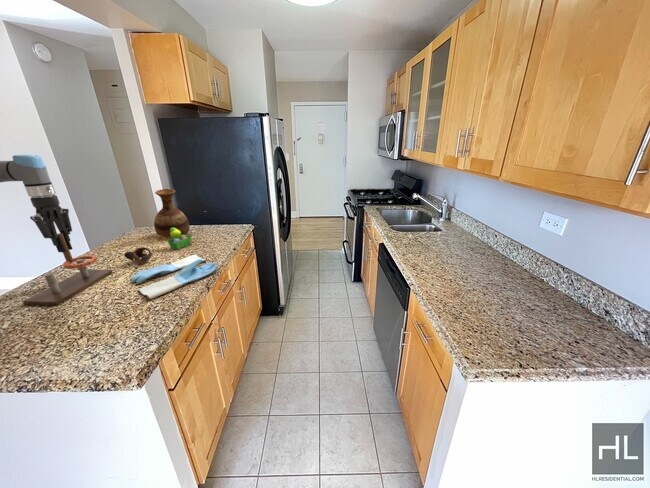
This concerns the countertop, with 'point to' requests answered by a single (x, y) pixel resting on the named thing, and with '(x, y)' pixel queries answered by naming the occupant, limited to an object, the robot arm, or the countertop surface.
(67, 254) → the ring
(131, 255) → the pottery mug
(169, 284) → the rubber gloves
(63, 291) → the rack
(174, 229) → the fruit basket
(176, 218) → the brown pottery vase
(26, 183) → the robot arm
